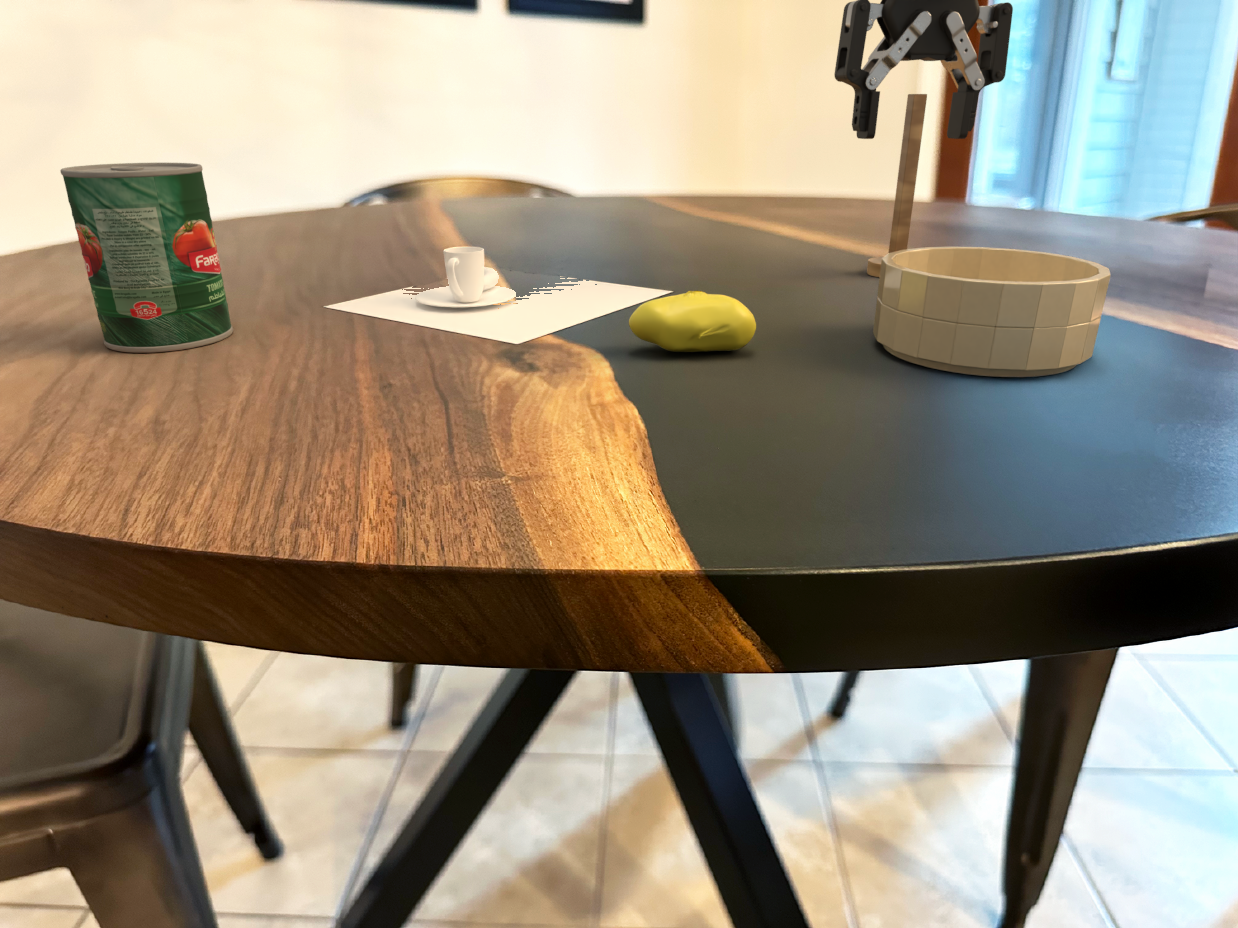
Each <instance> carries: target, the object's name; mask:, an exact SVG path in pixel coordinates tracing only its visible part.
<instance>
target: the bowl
mask: <svg viewBox="0 0 1238 928" xmlns="http://www.w3.org/2000/svg"><path fill="white" fill-rule="evenodd" d="M882 257H883V258H882V261H881V270H880V277H878V278H879V279H878V287H877V294H876V295H877V297H876V305H875V313H874V321H873V329H872V334H873V336H874V338H875V340H876V342H878V343H880V344H881V345H882V347H883V349H884V350H885V351H886V352H887V353H889V354H891V355H892V356H894V357H896V358H898V359H900V360H903V361H905V362H908V363H911V364H915V365H918V366H922V367H925V368H930V369H934V370H939V371H942V372H943V371H945V372H949V373H955V374H962V375H970V376H971V375H972V376H979V377H993V378H994V377H996V378H1033V377H1045V376H1046V377H1047V376H1051V375H1057V374H1061V373H1065V372H1068V371H1070V370H1072V369H1074V368H1076V367H1077V365H1081V364H1083V363H1084V362H1086V361H1087V360H1089V359H1090V358H1092V357H1093V354H1094V350H1095V345H1096V341H1097V337H1098V332H1099V328H1100V323H1101V320H1102V315H1103V312H1104V306H1105V302H1106V298H1107V293H1108V288H1109V285H1110V280H1111V277H1112V276H1111V271H1110V269H1109V267H1106V266H1104V265H1102V264H1100V263H1098V262H1096V261H1092V260H1087V259H1085V258H1079V257H1075V256H1071V255H1064V254H1058V253H1052V252H1045V251H1036V250H1027V249H1018V248H1015V249H1014V248H1002V247H987V246H983V247H982V246H928V247H916V248H907V249H905V250H900V251H896V252H892V253H889V252H888V253H886V254H885V255H884V256H882Z"/></svg>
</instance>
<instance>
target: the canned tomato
mask: <svg viewBox="0 0 1238 928" xmlns="http://www.w3.org/2000/svg"><path fill="white" fill-rule="evenodd" d="M203 169H204V168H203V166H202V165H201V164H200V163H191V162H123V163H121V162H120V163H101V164H85V165H75V166H68V167H64V168H61V169H60V170H59V171H60V175H62V179H63V182H64V186H65V191H66V195H67V200H68V203H69V206H70V210H71V216H72V218H73V221H74V228H75V230H76V234H77V238H78V243H79V246H80V250H81V255H82V258H83V261H84V262H83V263H84V267H85V271H86V273H87V279H88V282H89V285H90V290H91V291H90V292H91V294H92V297H93V302H94V305H95V306H94V307H95V309H96V314H97V318H98V321H99V326H100V328H101V332H102V336H103V344H104V346H105V347H106V348H108V349H109V350H112V351H115V352H123V353H133V354H134V353H135V354H136V353H137V354H146V353H147V354H149V353H165V352H175V351H182V350H188V349H194V348H199V347H204V346H207V345H211V344H214V343H217V342H220V341H223V340H225V339H227V338H228V337H230V336H231V335H232V334H233V332H234V328H233V325H232V322H231V315H230V310H229V303H228V301H227V300H228V299H227V295H226V294H227V293H226V290H225V285H224V279H223V274H222V268H221V264H220V256H219V253H218V248H217V247H218V246H217V242H216V238H215V231H214V227H213V220H212V217H211V209H210V205H209V201H208V194H207V190H206V185H205V180H204V176H203Z"/></svg>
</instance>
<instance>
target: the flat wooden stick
mask: <svg viewBox="0 0 1238 928" xmlns="http://www.w3.org/2000/svg"><path fill="white" fill-rule="evenodd" d="M927 99H928V94H927V93H908V94H907V99H906V107H905V115H904V123H903V131H902V139H901V141H902V142H901V148H900V154H899V155H900V156H899V165H898V172H897V179H896V180H897V181H896V189H895V197H894V207H893V213H892V222H891V229H890V237H889V244H888V245H889V247H888V253H892V252H896V251H900V250H905V249H908V246H909V238H910V237H909V236H910V231H911V230H910V229H911V223H912V215H913V205H914V200H915V191H916V184H917V176H918V168H919V160H920V155H921V154H920V152H921V145H922V144H921V143H922V138H923V130H924V123H925V122H924V121H925V116H926V115H925V114H926V108H927V107H926V106H927ZM883 257H884V256H874V257H871V258H868V260H867V268H866V274H867V275H869V276H872V277H876V278H880V270H881V261H882V258H883Z"/></svg>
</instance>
